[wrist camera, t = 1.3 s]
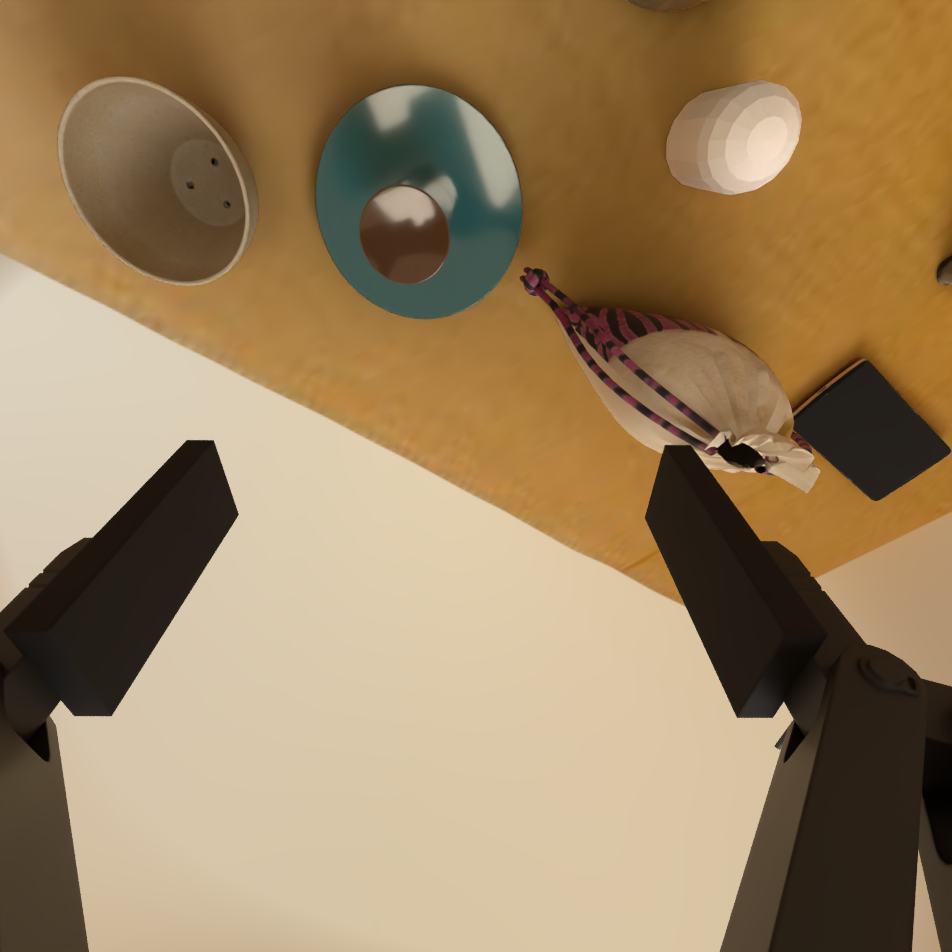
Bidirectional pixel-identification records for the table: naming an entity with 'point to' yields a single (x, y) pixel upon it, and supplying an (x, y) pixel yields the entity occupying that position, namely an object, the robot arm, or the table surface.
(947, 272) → the cream tapered case
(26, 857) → the robot arm
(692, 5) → the pot
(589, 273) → the table surface
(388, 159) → the lid
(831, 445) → the smartphone
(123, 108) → the flower pot
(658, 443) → the pouch
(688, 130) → the capsule
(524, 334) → the table surface
